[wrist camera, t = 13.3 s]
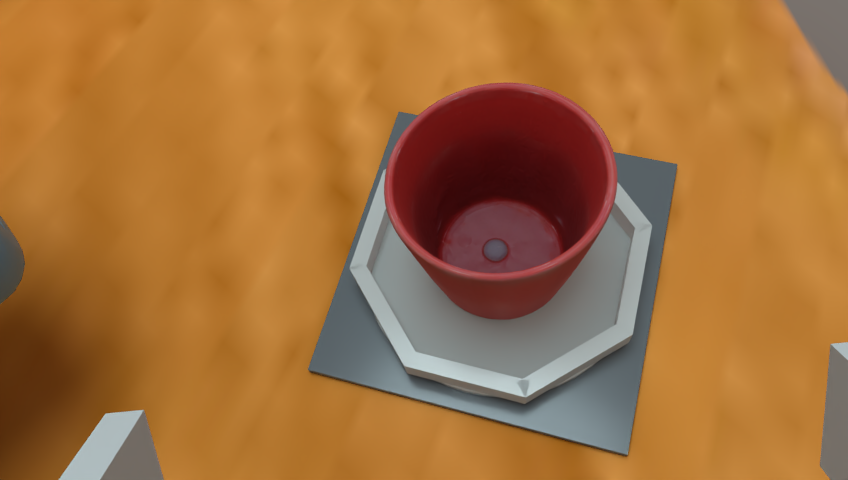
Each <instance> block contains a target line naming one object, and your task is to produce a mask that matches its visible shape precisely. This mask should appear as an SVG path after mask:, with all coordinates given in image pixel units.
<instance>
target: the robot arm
mask: <svg viewBox="0 0 848 480" xmlns="http://www.w3.org/2000/svg"><path fill="white" fill-rule="evenodd" d="M24 266H25V261H24V255H23V251H22V249H21V247H20V245H19V243H18V241H17V240H16V238H15V236H14V235H13V233H12V232H11V230H10V229H9V227H8V226H7V224H6V223H5V222H4V220H3V219H2V217H1V216H0V304H1V303H2V302H3V301H5V300H6V299H7V298H8V297H9V296H10V295H11V294H12V293H13V292H14V291H15V290H16V287H17V286H18V285H19V283H20V281H21V279H22V275H23V271H24ZM820 467H821V468H822V469H823V470H824V472H825V473H826V474H827V476H828V477H829V478H830V479H831V480H848V342H847V343H836V344H831V345H830V357H829V368H828V379H827V391H826V402H825V414H824V425H823V437H822V448H821V459H820ZM59 480H164V479H163V475H162V472H161V468H160V465H159V461H158V458H157V454H156V450H155V447H154V443H153V440H152V436H151V433H150V429H149V426H148V422H147V419H146V415H145V412H144V410H138V411H127V412H117V413H107V414H105V415H104V417H103V418H102V419H101V421H100V422H99V424H98V425H97V426H96V428H95V429H94V431H93V432H92V433H91V435H90V436H89V438H88V439H87V440H86V442H85V443H84V445H83V446H82V447H81V449H80V450H79V452H78V453H77V455H76V456H75V457H74V459H73V460H72V462H71V463H70V464H69V466H68V467H67V469H66V470H65V471H64V473H63V474H62V476H61V477H60V478H59Z"/></svg>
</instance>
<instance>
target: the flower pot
mask: <svg viewBox="0 0 848 480" xmlns="http://www.w3.org/2000/svg"><path fill="white" fill-rule="evenodd" d="M616 192H617V166H616V161H615V157H614V153H613V150H612V147H611V145H610V143H609V140H608V139H607V137H606V135H605V133H604V131H603V130H602V128H601V127H600V126H599V125H598V123H597V122H596V121H595V120H594V119H593V118H592V116H591V115H589V114H588V113H587V112H586V111H585V110H584V109H583V108H581V107H580V106H579V105H577V104H576V103H574V102H573V101H571V100H570V99H568V98H566V97H564V96H562V95H560V94H558V93H556V92H553V91H551V90H548V89H545V88H542V87H537V86H533V85H528V84H521V83H493V84H485V85H479V86H475V87H471V88H467V89H464V90H461V91H459V92H456V93H454V94H451V95H449V96H447V97H445V98H443V99H441V100H439V101H437V102H436V103H434V104H433V105H431V106H430V107H428V108H427V109H426V110H424V111H423V112H422V113H421V114H419V115H418V116H417V117H416V118H415V119H414V120H413V121H412V122H411V123H410V125H409V126H408V127H407V128H406V129H405V131H404V132H403V133H402V135H401V136H400V138H399V139H398V141H397V143H396V145H395V147H394V149H393V151H392V153H391V155H390V158H389V161H388V165H387V168H386V173H385V181H384V199H385V206H386V210H387V214H388V216H389V219H390V222H391V224H392V226H393V228H394V229H395V231H396V233H397V234H398V236H399V237H400V239H401V240H402V242H403V243H404V244H405V246H406V247H407V248H408V250H409V251H410V252H411V253H412V255H413V256H414V257H415V258H416V260H417V261H418V262H419V263H420V265H421V266H422V267H423V269H424V270H425V271H426V272H427V274H428V275H429V276H430V277H431V279H432V280H433V281H434V282H435V283H436V284H437V285H438V287H439V288H440V289H441V290H442V291H443V292H444V293H445V294H446V295H447V296H448V298H449V299H450V300H451V301H452V302H454V303H455V304H456V305H457V306H459V307H460V308H461V309H463V310H465V311H467V312H469V313H471V314H473V315H476V316H479V317H483V318H487V319H498V320H508V319H515V318H519V317H522V316H525V315H528V314H530V313H533V312H534V311H536V310H538V309H540V308H541V307H543V306H544V305H545V304H546V303H548V302H549V301H550V300H551V299H552V298H553V297H554V295H555V294H556V293H557V292H558V290H559V289H560V288H561V287H562V286H563V285H564V283H565V282H566V281H567V280H568V278H569V277H570V276H571V275H572V273H573V272H574V270H575V269H576V268H577V266H578V265H579V264H580V262H581V261H582V259H583V258H584V256H585V255H586V254H587V252H588V251H589V249H590V248H591V246H592V245H593V243H594V242H595V240H596V238H597V237H598V235H599V234H600V232H601V230H602V229H603V227H604V225H605V223H606V221H607V220H608V217H609V215H610V213H611V210H612V208H613V205H614V201H615V197H616Z"/></svg>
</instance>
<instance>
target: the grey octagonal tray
mask: <svg viewBox="0 0 848 480" xmlns="http://www.w3.org/2000/svg"><path fill="white" fill-rule="evenodd" d="M417 116H418V115H413V114H408V113H403V112H399V113H398V116H397V118H396V121H395V124H394V127H393V130H392V133H391V135H390V138H389V141H388V144H387V147H386V150H385V153H384V155H383V158H382V161H381V164H380V167H379V170H378V172H377V175H376V178H375V181H374V184H373V187H372V189H371V192H370V195H369V198H368V201H367V204H366V206H365V209H364V212H363V215H362V218H361V221H360V223H359V226H358V229H357V232H356V235H355V238H354V240H353V243H352V246H351V249H350V252H349V255H348V257H347V260H346V263H345V266H344V269H343V272H342V274H341V277H340V280H339V283H338V286H337V289H336V291H335V294H334V297H333V300H332V303H331V306H330V308H329V311H328V314H327V317H326V320H325V323H324V326H323V328H322V331H321V334H320V337H319V340H318V343H317V345H316V348H315V351H314V354H313V357H312V360H311V362H310V365H309V368H308V370H309V371H310V372H312V373H316V374H319V375H323V376H327V377H331V378H334V379H338V380H342V381H346V382H349V383H353V384H357V385H361V386H364V387H368V388H372V389H376V390H379V391H383V392H387V393H391V394H394V395H398V396H402V397H406V398H409V399H413V400H417V401H421V402H424V403H428V404H432V405H436V406H439V407H443V408H447V409H451V410H454V411H458V412H462V413H466V414H469V415H473V416H477V417H481V418H484V419H488V420H492V421H496V422H499V423H503V424H507V425H510V426H514V427H518V428H522V429H525V430H529V431H533V432H537V433H540V434H544V435H548V436H552V437H555V438H559V439H563V440H567V441H570V442H574V443H578V444H582V445H585V446H589V447H593V448H597V449H600V450H604V451H608V452H612V453H615V454H619V455H623V456H627V455H628V449H629V444H630V438H631V432H632V426H633V420H634V414H635V409H636V403H637V397H638V391H639V385H640V379H641V374H642V368H643V362H644V356H645V350H646V344H647V338H648V333H649V327H650V321H651V315H652V309H653V303H654V298H655V292H656V286H657V280H658V274H659V268H660V263H661V257H662V251H663V245H664V239H665V233H666V228H667V222H668V216H669V210H670V204H671V198H672V192H673V187H674V181H675V175H676V169H677V164H673V163H668V162H663V161H657V160H652V159H647V158H642V157H636V156H631V155H626V154H620V153H615V152H613V153H614V157H615V161H616V166H617V192H616V197H615V201H614V205H613V208H612V210H611V213H610V215H609V217H608V220H607V221H606V223H605V225H604V227H603V229H602V230H601V232H600V234H599V235H598V237H597V238H596V240H595V242H594V243H593V245H592V246H591V248H590V249H589V251H588V252H587V254H586V255H585V256H584V258H583V259H582V261H581V262H580V264H579V265H578V266H577V268H576V269H575V270H574V272H573V273H572V275H571V276H570V277H569V278H568V280H567V281H566V282H565V283H564V285H563V286H562V287H561V288H560V289H559V290H558V292H557V293H556V294H555V295H554V297H553V298H552V299H551V300H550V301H549V302H548V303H546V304H545V305H544V306H543V307H541V308H540V309H538V310H536V311H534V312H533V313H530V314H528V315H525V316H522V317H519V318H515V319H508V320H498V319H487V318H483V317H479V316H476V315H473V314H471V313H469V312H467V311H465V310H463V309H461V308H460V307H459V306H457V305H456V304H455V303H454V302H452V301H451V300H450V299H449V298H448V296H447V295H446V294H445V293H444V292H443V291H442V290H441V289H440V288H439V287H438V285H437V284H436V283H435V282H434V281H433V280H432V279H431V277H430V276H429V275H428V274H427V272H426V271H425V270H424V269H423V267H422V266H421V265H420V263H419V262H418V261H417V260H416V258H415V257H414V256H413V255H412V253H411V252H410V251H409V250H408V248H407V247H406V246H405V244H404V243H403V242H402V240H401V239H400V237H399V236H398V234H397V233H396V231H395V229H394V228H393V226H392V224H391V222H390V219H389V216H388V214H387V210H386V206H385V199H384V181H385V173H386V168H387V165H388V161H389V158H390V155H391V153H392V151H393V149H394V147H395V145H396V143H397V141H398V139H399V138H400V136H401V135H402V133H403V132H404V131H405V129H406V128H407V127H408V126H409V125H410V123H411V122H412V121H413V120H414V119H415V118H416V117H417Z"/></svg>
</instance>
